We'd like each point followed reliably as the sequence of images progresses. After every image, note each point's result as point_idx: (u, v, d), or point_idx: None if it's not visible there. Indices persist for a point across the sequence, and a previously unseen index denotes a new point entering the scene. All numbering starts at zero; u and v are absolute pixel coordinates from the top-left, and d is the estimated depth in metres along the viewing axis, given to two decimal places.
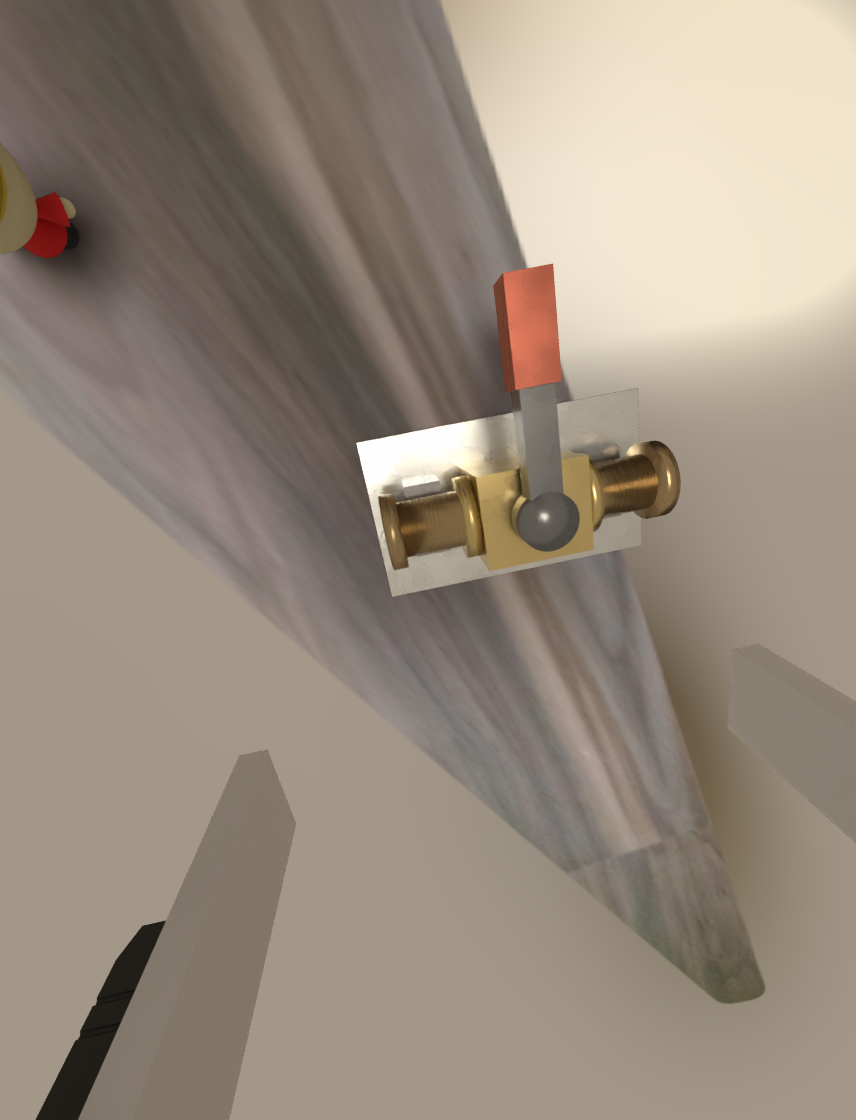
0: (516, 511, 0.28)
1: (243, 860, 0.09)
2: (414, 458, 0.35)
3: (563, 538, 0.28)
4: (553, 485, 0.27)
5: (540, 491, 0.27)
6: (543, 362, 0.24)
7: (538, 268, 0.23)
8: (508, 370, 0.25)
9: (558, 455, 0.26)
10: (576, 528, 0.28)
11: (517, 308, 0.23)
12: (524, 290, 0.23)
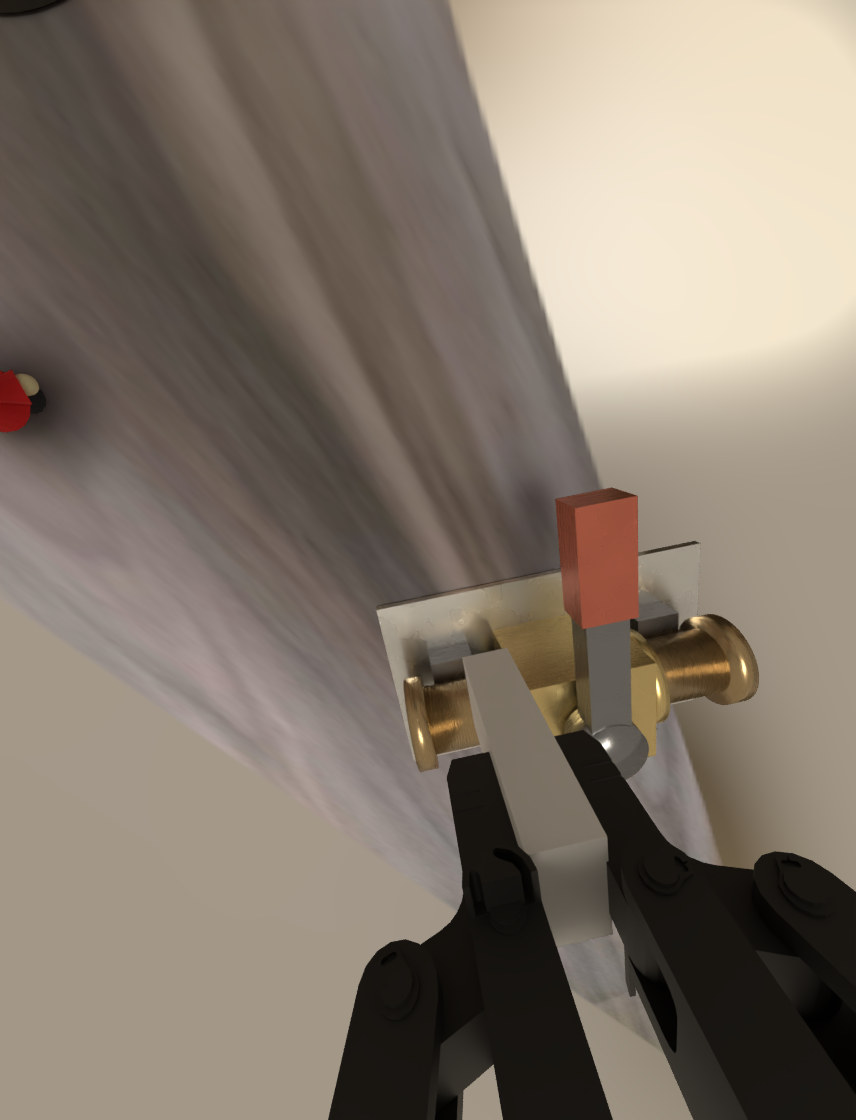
0: None
1: None
2: (442, 623, 0.31)
3: (628, 770, 0.24)
4: (620, 719, 0.22)
5: (604, 726, 0.22)
6: (618, 600, 0.20)
7: (619, 501, 0.18)
8: (571, 598, 0.21)
9: (627, 689, 0.22)
10: (644, 760, 0.23)
11: (590, 545, 0.19)
12: (600, 525, 0.18)
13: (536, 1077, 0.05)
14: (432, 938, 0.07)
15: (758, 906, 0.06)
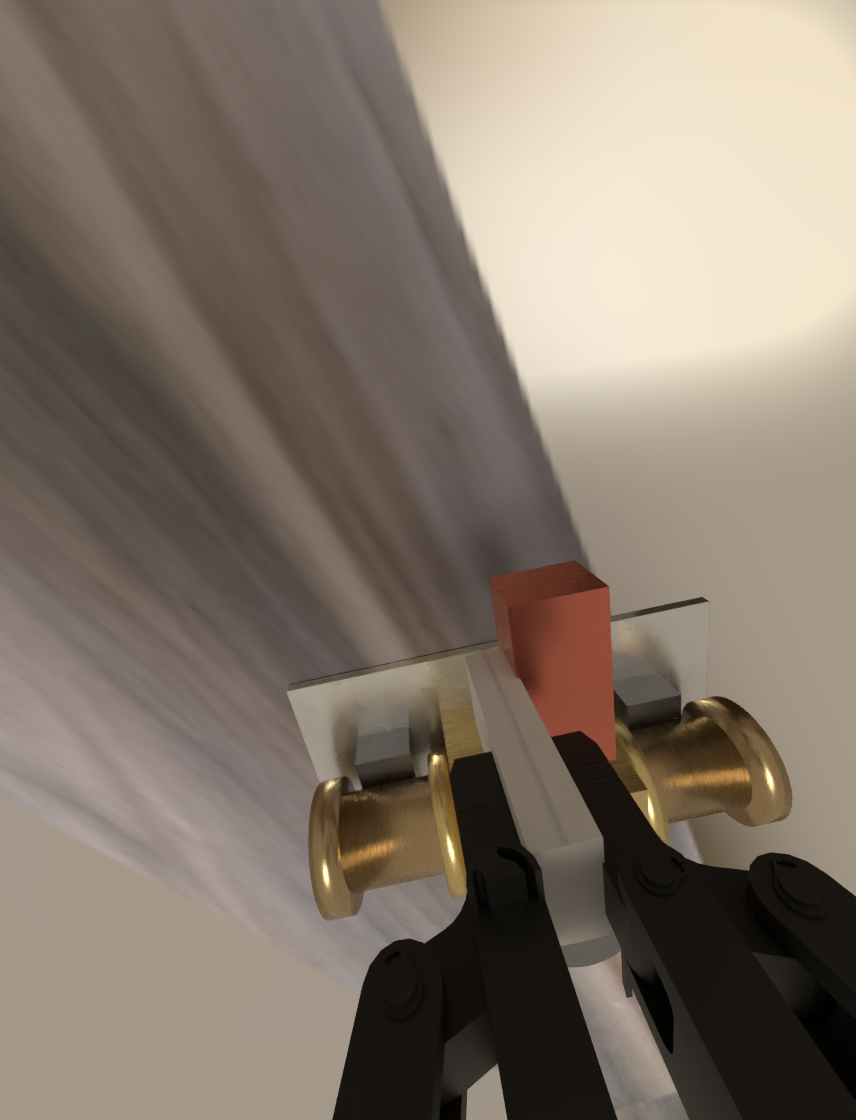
0: None
1: None
2: (375, 706, 0.24)
3: (607, 950, 0.17)
4: None
5: None
6: None
7: (579, 596, 0.11)
8: None
9: None
10: None
11: (535, 660, 0.12)
12: (549, 632, 0.12)
13: (540, 1076, 0.05)
14: (436, 937, 0.07)
15: (754, 907, 0.06)
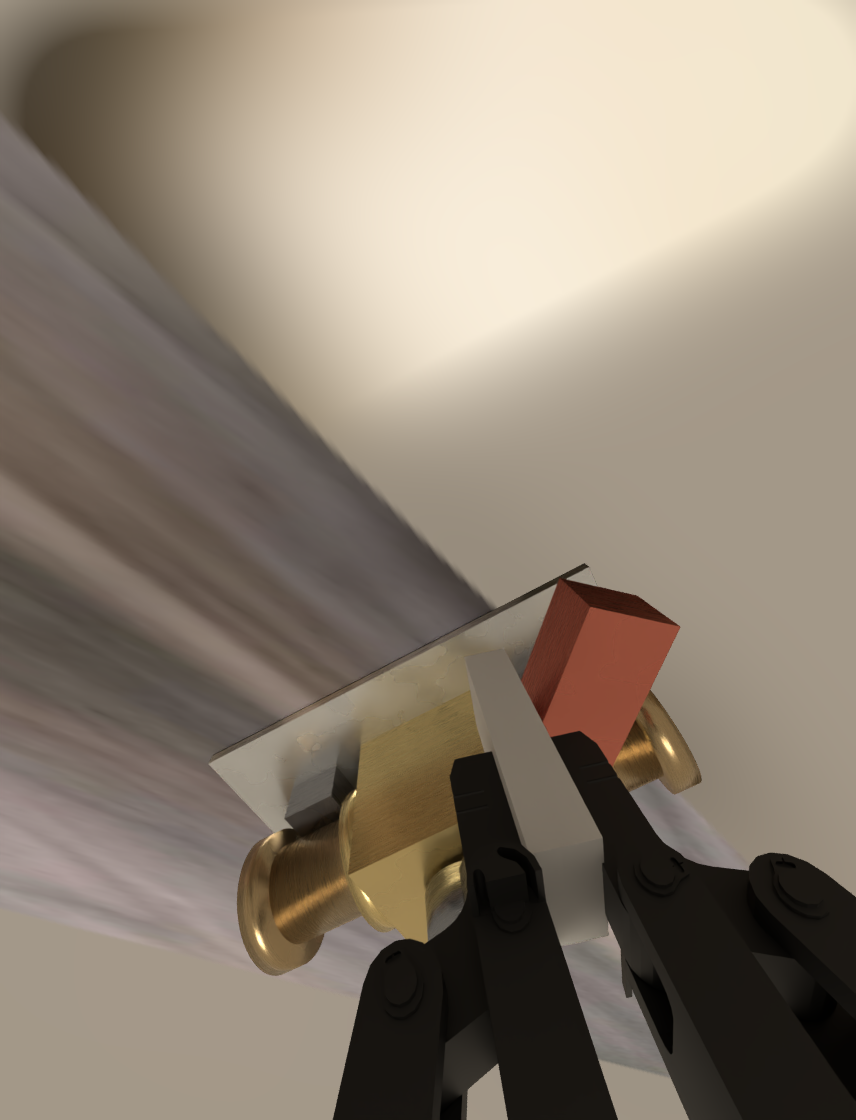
0: (438, 896, 0.17)
1: None
2: (295, 755, 0.24)
3: None
4: None
5: None
6: None
7: (653, 624, 0.12)
8: None
9: None
10: None
11: (585, 668, 0.12)
12: (611, 646, 0.12)
13: (541, 1076, 0.05)
14: (436, 937, 0.07)
15: (754, 907, 0.06)
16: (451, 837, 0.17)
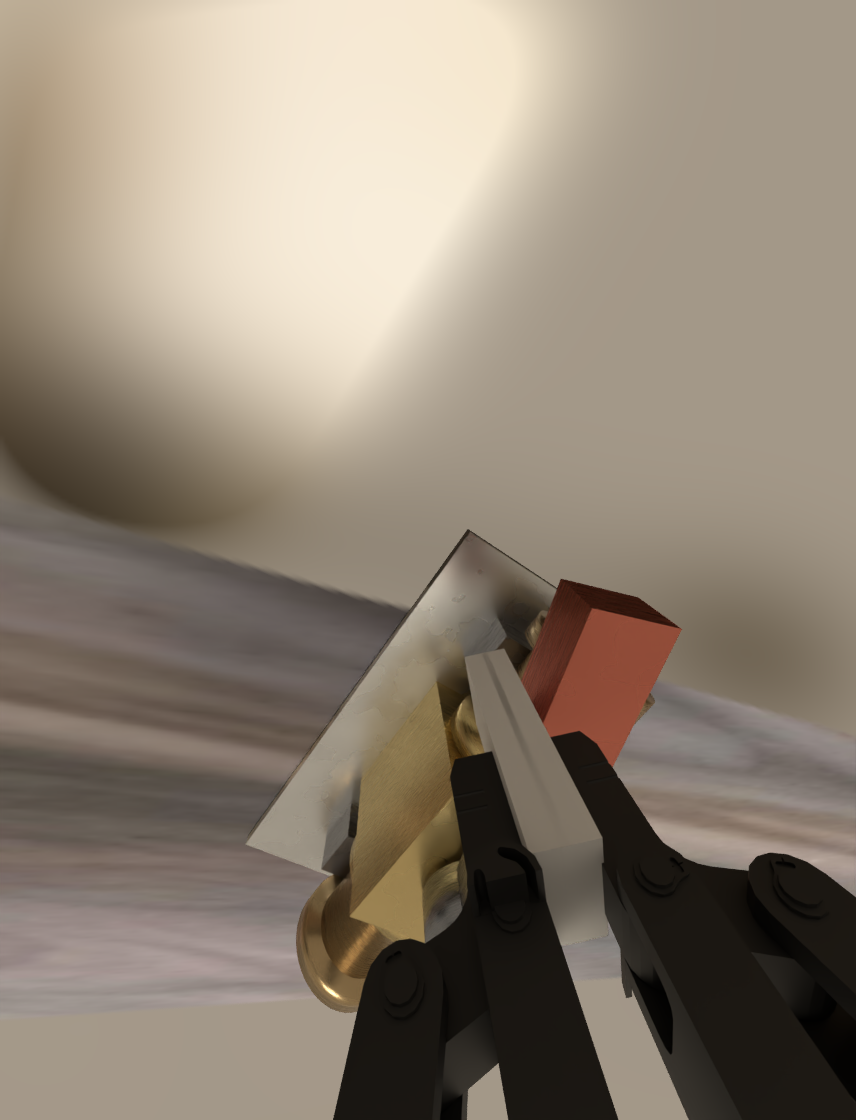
0: (435, 895, 0.17)
1: None
2: (311, 809, 0.26)
3: None
4: None
5: None
6: None
7: (654, 626, 0.12)
8: None
9: None
10: None
11: (586, 669, 0.12)
12: (613, 648, 0.12)
13: (541, 1076, 0.05)
14: (436, 937, 0.07)
15: (754, 907, 0.06)
16: (418, 853, 0.17)
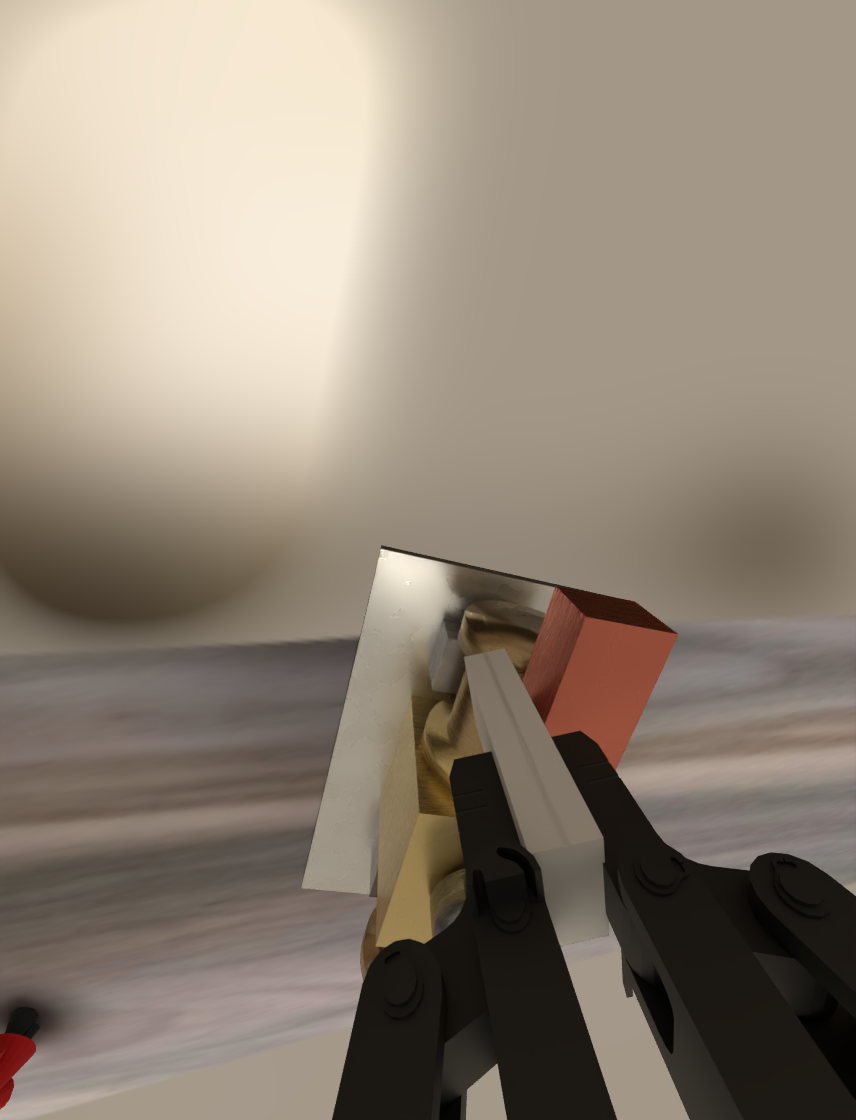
0: (443, 904, 0.17)
1: None
2: (346, 842, 0.27)
3: None
4: None
5: None
6: None
7: (650, 632, 0.11)
8: None
9: None
10: None
11: (583, 677, 0.12)
12: (609, 656, 0.12)
13: (540, 1076, 0.05)
14: (435, 937, 0.07)
15: (755, 907, 0.06)
16: (412, 875, 0.18)
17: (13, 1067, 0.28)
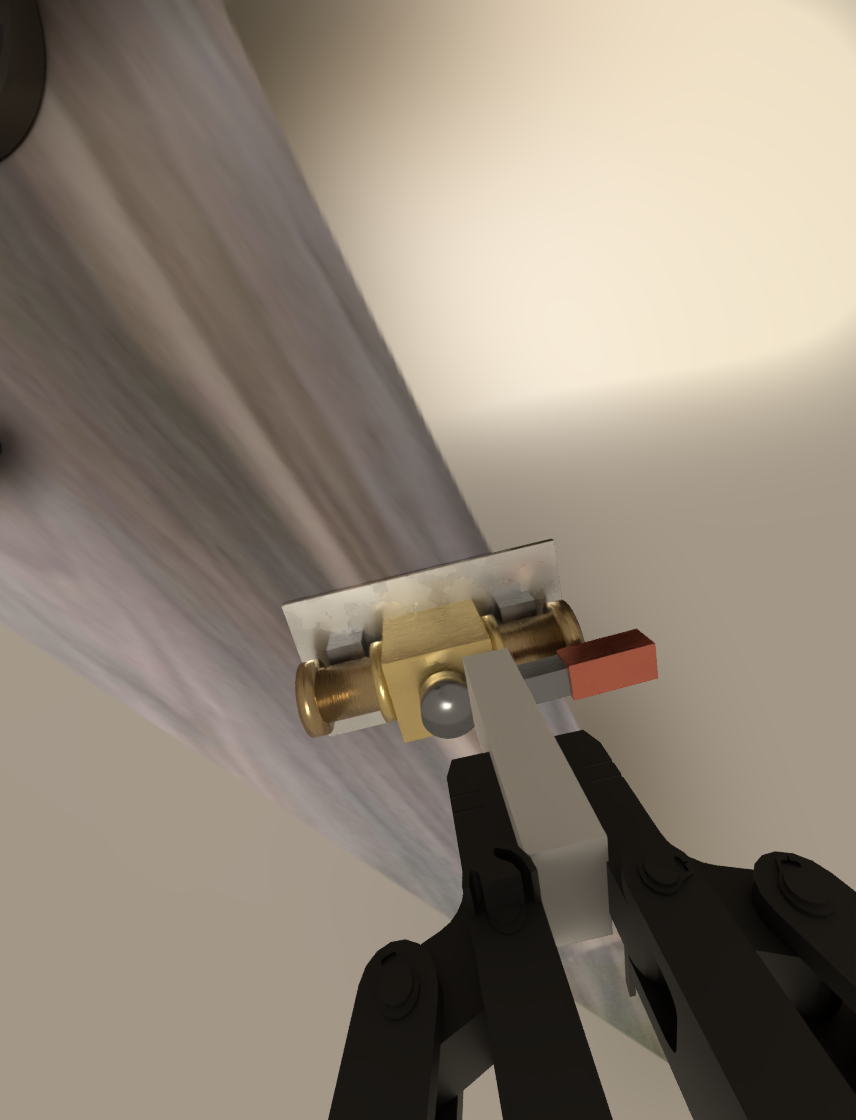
0: (454, 678, 0.29)
1: None
2: (339, 615, 0.36)
3: (435, 728, 0.29)
4: None
5: None
6: (588, 684, 0.29)
7: (655, 668, 0.29)
8: (579, 654, 0.29)
9: None
10: (445, 737, 0.29)
11: (629, 657, 0.28)
12: (641, 660, 0.28)
13: (536, 1077, 0.05)
14: (432, 938, 0.07)
15: (758, 906, 0.06)
16: (445, 656, 0.30)
17: None
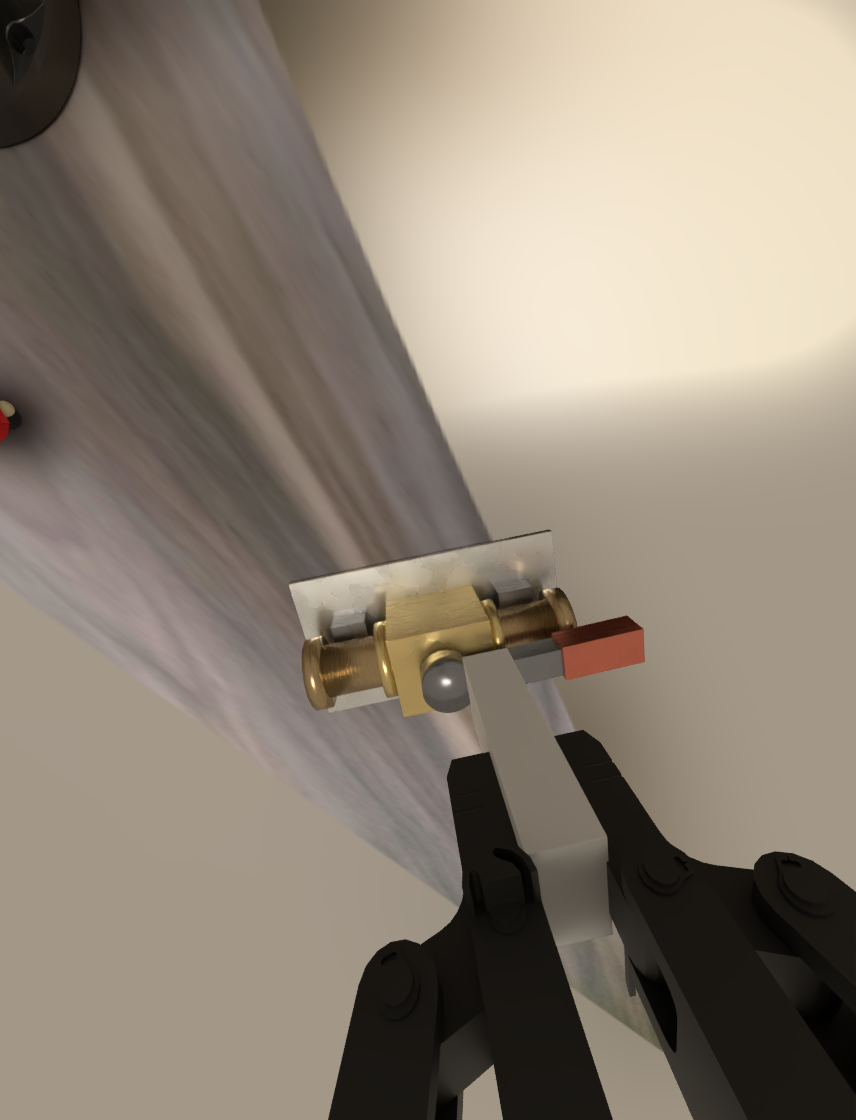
0: (454, 656, 0.31)
1: None
2: (344, 596, 0.38)
3: (435, 702, 0.30)
4: None
5: None
6: (580, 665, 0.30)
7: (643, 652, 0.31)
8: (572, 637, 0.31)
9: None
10: (444, 711, 0.31)
11: (619, 641, 0.30)
12: (630, 645, 0.30)
13: (536, 1077, 0.05)
14: (432, 938, 0.07)
15: (758, 906, 0.06)
16: (446, 635, 0.32)
17: None
